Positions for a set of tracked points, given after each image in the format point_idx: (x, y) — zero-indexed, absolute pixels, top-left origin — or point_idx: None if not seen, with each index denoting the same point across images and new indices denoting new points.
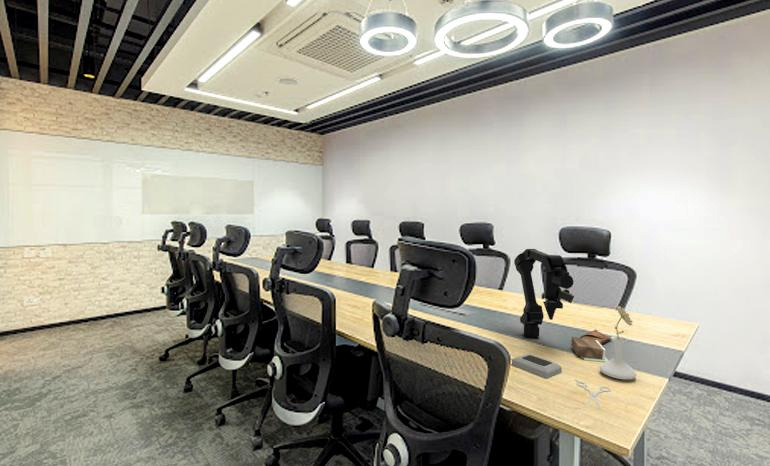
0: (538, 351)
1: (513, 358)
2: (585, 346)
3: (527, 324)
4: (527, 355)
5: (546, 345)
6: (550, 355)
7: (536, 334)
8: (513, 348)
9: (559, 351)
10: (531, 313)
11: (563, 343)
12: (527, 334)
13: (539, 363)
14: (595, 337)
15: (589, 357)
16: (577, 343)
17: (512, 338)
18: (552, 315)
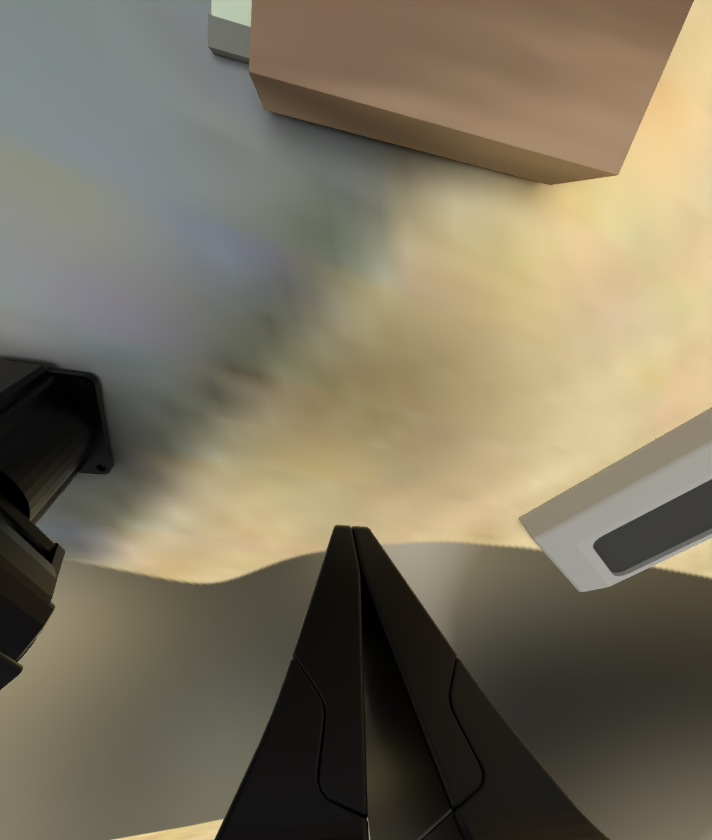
0: (401, 438)
1: (585, 589)
2: (649, 59)
3: (44, 537)
4: (596, 553)
5: (258, 352)
6: (474, 386)
7: (49, 397)
8: None
9: (392, 292)
10: (2, 672)
11: (132, 147)
12: (81, 461)
13: (695, 520)
14: None
15: None
16: (542, 139)
17: (169, 529)
18: (412, 612)
